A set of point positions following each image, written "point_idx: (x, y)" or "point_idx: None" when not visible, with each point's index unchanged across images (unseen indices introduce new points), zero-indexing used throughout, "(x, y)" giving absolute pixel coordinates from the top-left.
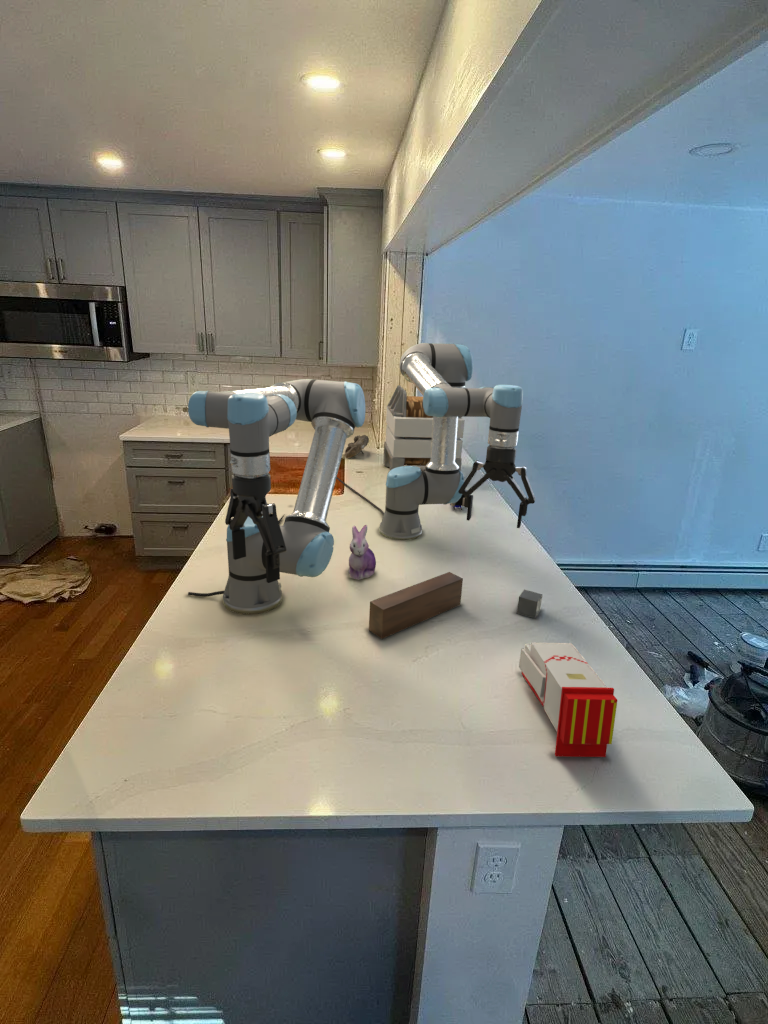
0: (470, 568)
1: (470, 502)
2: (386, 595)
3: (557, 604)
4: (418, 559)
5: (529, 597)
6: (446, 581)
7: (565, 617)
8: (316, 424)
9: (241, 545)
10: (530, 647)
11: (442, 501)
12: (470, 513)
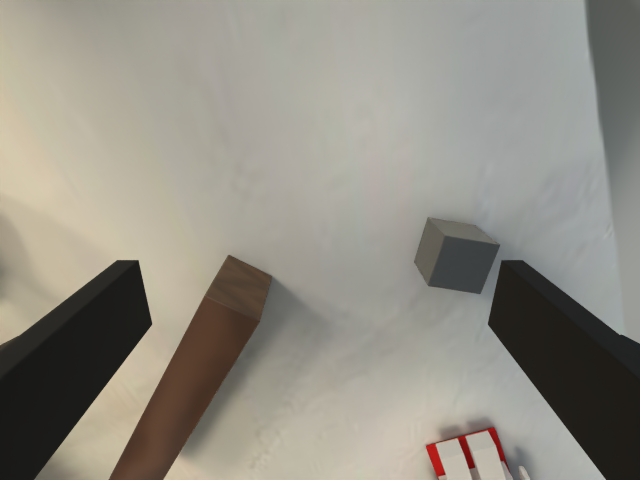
0: (230, 4)
1: (49, 452)
2: (118, 462)
3: (531, 168)
4: (20, 9)
5: (458, 279)
6: (220, 355)
7: (539, 233)
8: None
9: None
10: (450, 470)
11: None
12: (121, 326)
